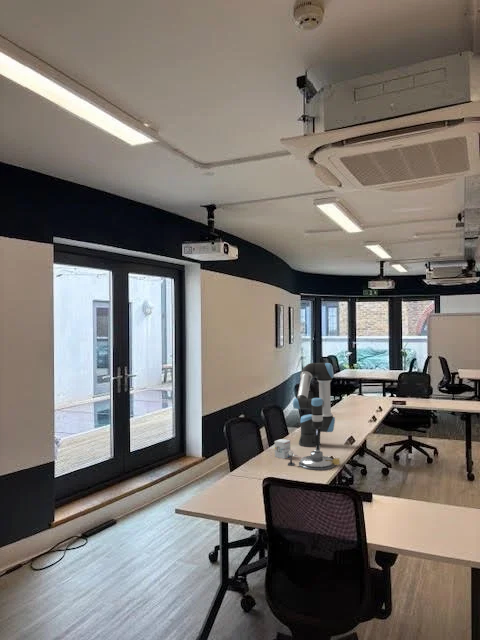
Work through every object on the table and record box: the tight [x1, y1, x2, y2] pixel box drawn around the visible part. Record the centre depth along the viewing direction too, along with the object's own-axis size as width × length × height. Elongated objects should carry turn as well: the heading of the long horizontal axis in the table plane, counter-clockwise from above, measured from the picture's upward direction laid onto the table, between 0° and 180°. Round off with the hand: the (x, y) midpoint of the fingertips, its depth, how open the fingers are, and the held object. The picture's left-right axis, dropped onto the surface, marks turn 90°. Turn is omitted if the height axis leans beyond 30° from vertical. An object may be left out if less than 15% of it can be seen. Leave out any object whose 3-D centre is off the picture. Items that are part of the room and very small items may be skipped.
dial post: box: [287, 450, 298, 467], centre depth 320 cm, size 4×6×10 cm, turn 75°
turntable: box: [299, 455, 341, 468], centre depth 318 cm, size 22×26×3 cm
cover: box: [310, 449, 324, 462], centre depth 319 cm, size 8×8×6 cm
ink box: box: [274, 438, 292, 460], centre depth 341 cm, size 8×8×12 cm
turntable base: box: [298, 461, 336, 471], centre depth 319 cm, size 24×24×1 cm
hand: (318, 454), depth 328 cm, fingers closed
